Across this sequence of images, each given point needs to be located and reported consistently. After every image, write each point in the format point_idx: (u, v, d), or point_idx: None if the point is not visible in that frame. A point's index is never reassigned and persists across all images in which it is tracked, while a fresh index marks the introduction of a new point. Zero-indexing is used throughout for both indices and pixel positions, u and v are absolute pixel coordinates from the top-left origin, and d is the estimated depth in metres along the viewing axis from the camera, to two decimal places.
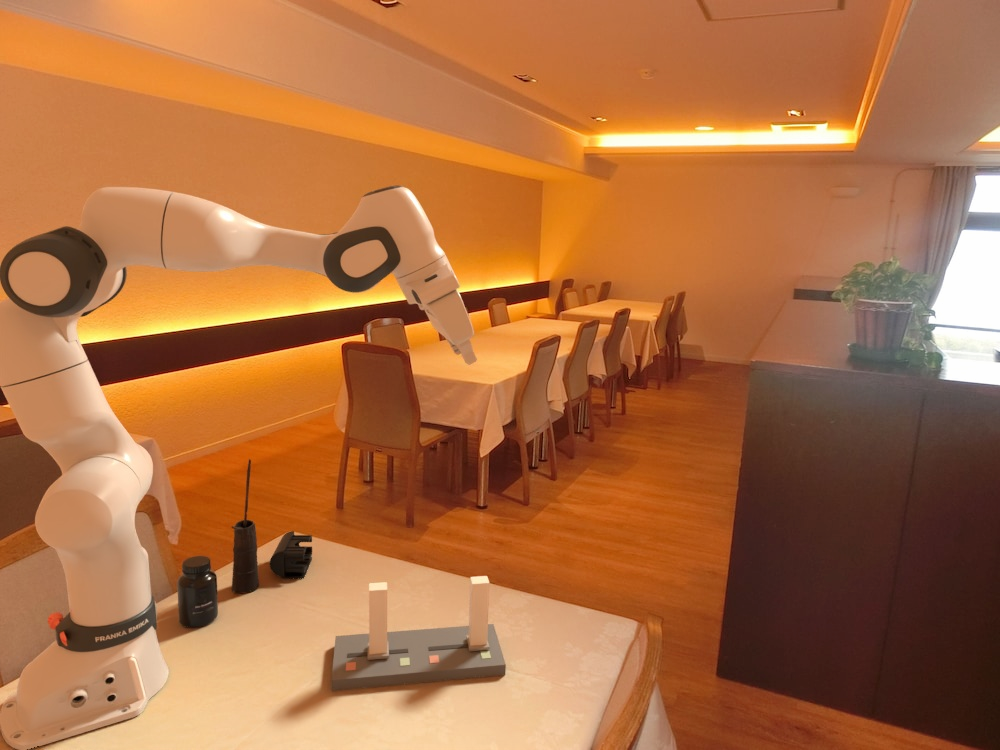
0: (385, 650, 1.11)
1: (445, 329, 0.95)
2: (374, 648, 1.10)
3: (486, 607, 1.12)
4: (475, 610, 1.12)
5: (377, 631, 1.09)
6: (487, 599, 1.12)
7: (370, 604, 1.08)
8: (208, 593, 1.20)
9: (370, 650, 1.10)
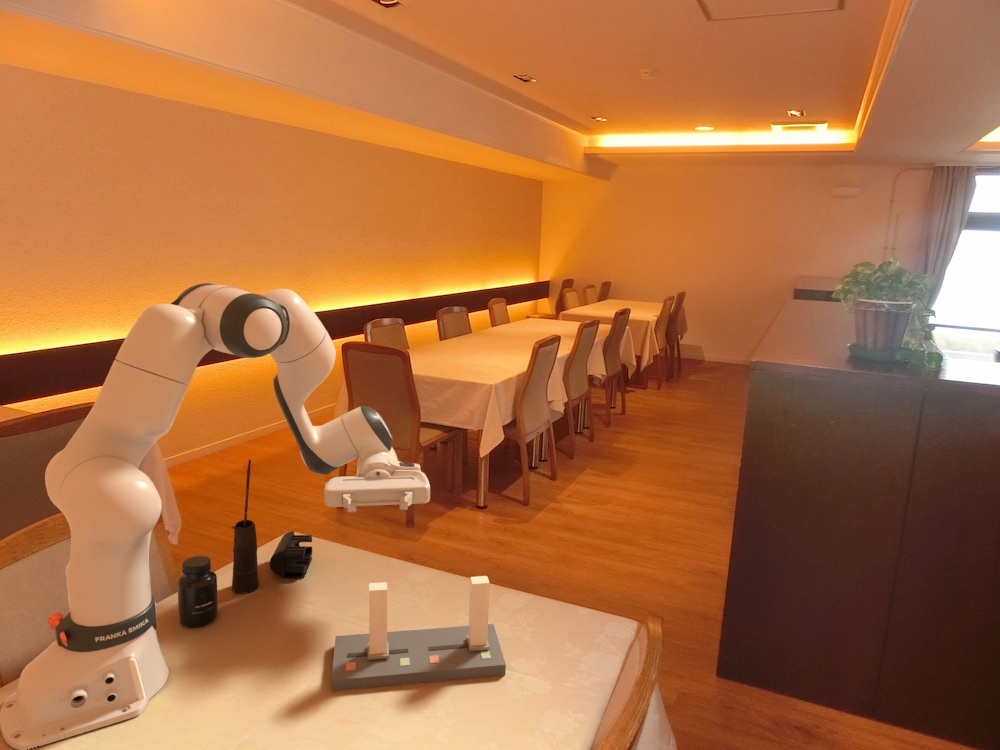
0: (385, 650, 1.11)
1: None
2: (374, 648, 1.10)
3: (486, 607, 1.12)
4: (475, 610, 1.12)
5: (377, 631, 1.09)
6: (487, 599, 1.12)
7: (370, 604, 1.08)
8: (208, 593, 1.20)
9: (370, 650, 1.10)
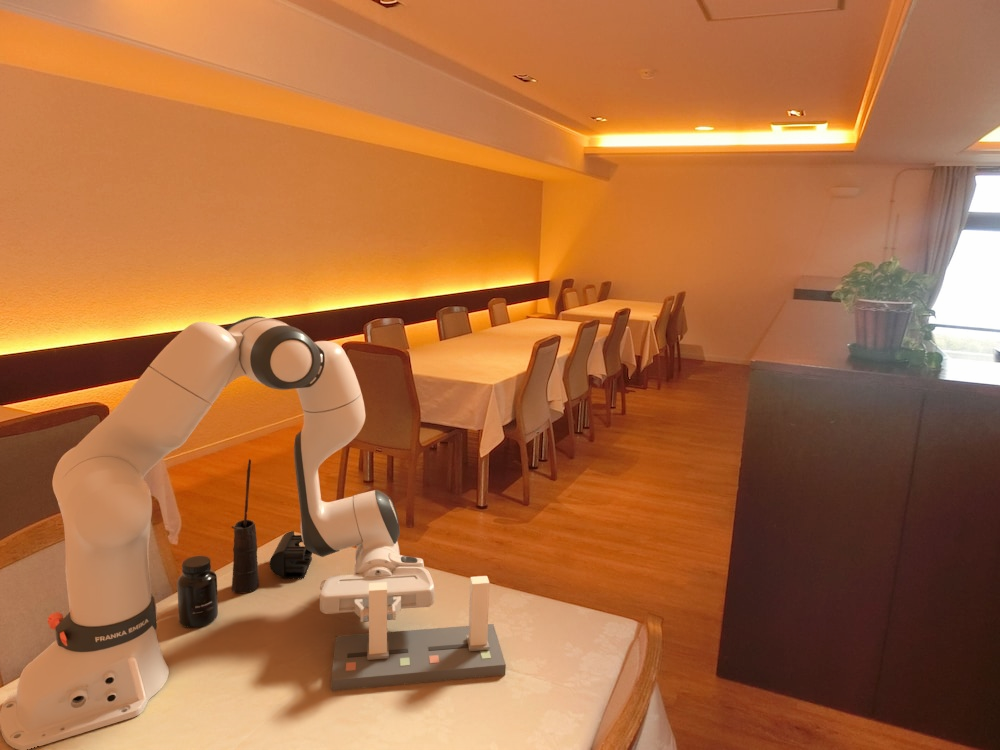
0: (385, 650, 1.10)
1: (432, 580, 1.18)
2: (374, 648, 1.10)
3: (486, 607, 1.12)
4: (475, 610, 1.12)
5: (376, 631, 1.09)
6: (487, 599, 1.12)
7: (370, 604, 1.08)
8: (208, 593, 1.20)
9: (370, 650, 1.10)
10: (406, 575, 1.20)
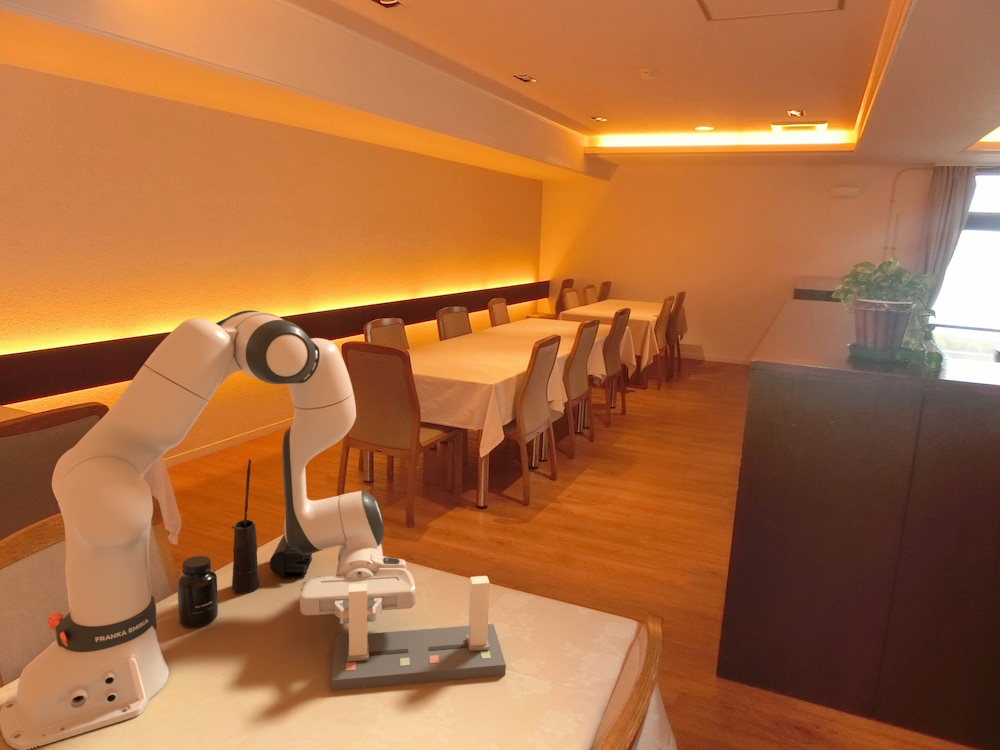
0: (365, 652, 1.10)
1: (413, 581, 1.18)
2: (354, 650, 1.09)
3: (486, 607, 1.12)
4: (475, 610, 1.12)
5: (356, 633, 1.09)
6: (487, 599, 1.12)
7: (350, 605, 1.08)
8: (208, 593, 1.20)
9: (350, 652, 1.09)
10: (388, 576, 1.19)
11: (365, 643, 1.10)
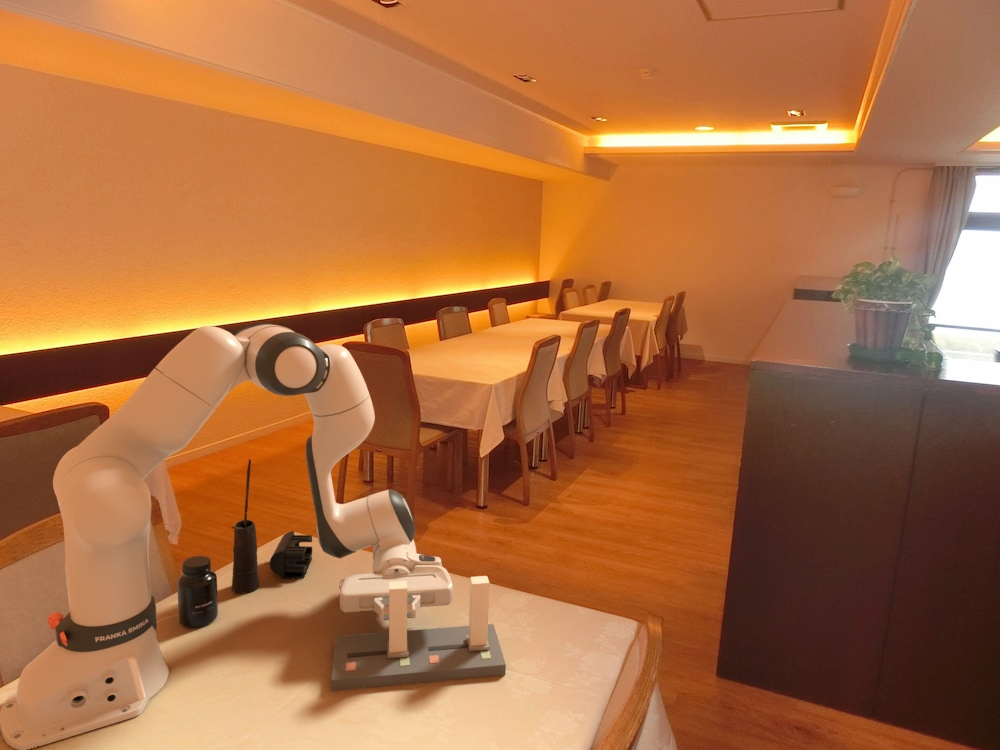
0: (405, 648, 1.11)
1: (450, 578, 1.19)
2: (394, 646, 1.11)
3: (486, 607, 1.12)
4: (475, 610, 1.12)
5: (397, 630, 1.10)
6: (487, 599, 1.12)
7: (390, 602, 1.09)
8: (208, 593, 1.20)
9: (390, 648, 1.11)
10: (424, 574, 1.20)
11: (405, 640, 1.11)
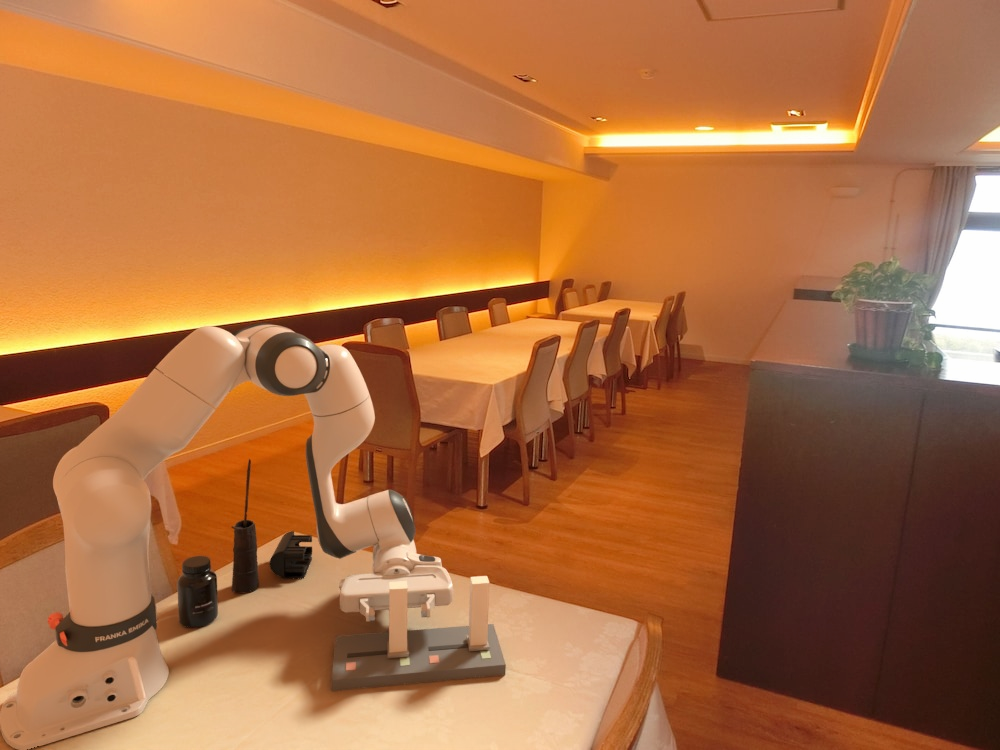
0: (405, 648, 1.11)
1: (450, 578, 1.19)
2: (394, 646, 1.11)
3: (486, 607, 1.12)
4: (475, 610, 1.12)
5: (397, 630, 1.10)
6: (487, 599, 1.12)
7: (390, 602, 1.09)
8: (208, 593, 1.20)
9: (390, 648, 1.11)
10: (424, 574, 1.20)
11: (405, 640, 1.11)
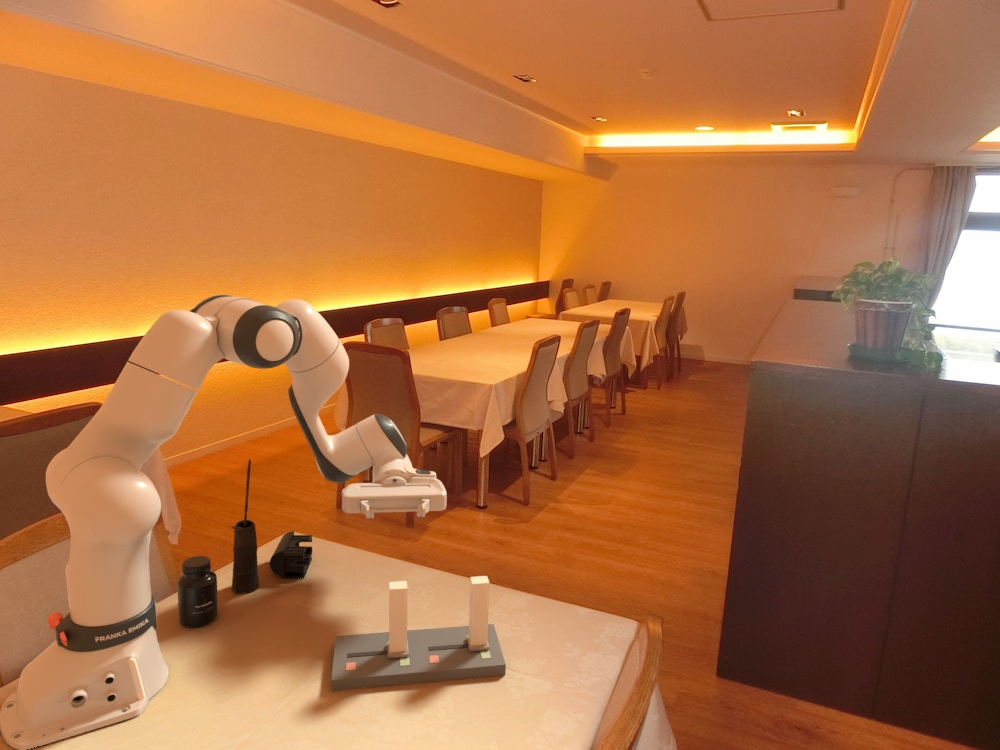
0: (405, 648, 1.11)
1: (444, 487, 1.29)
2: (394, 646, 1.11)
3: (486, 607, 1.12)
4: (475, 610, 1.12)
5: (397, 630, 1.10)
6: (487, 599, 1.12)
7: (390, 602, 1.09)
8: (208, 593, 1.20)
9: (390, 648, 1.11)
10: (420, 484, 1.30)
11: (405, 640, 1.11)
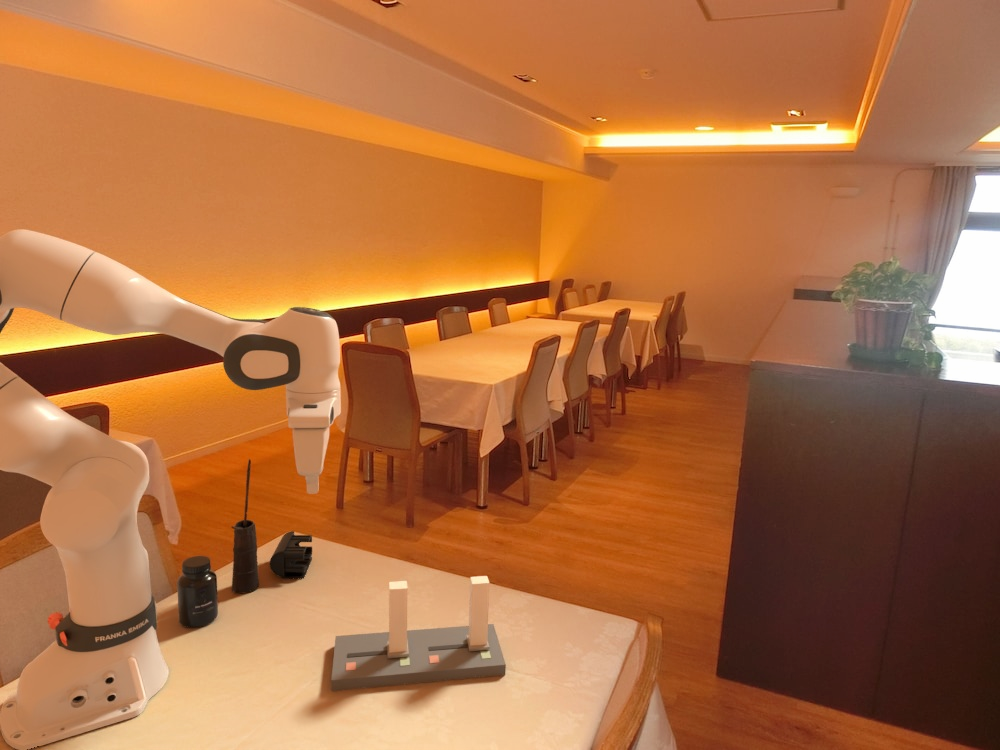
0: (405, 648, 1.11)
1: (296, 458, 1.00)
2: (394, 646, 1.11)
3: (486, 607, 1.12)
4: (475, 610, 1.12)
5: (397, 630, 1.10)
6: (487, 599, 1.12)
7: (390, 602, 1.09)
8: (208, 593, 1.20)
9: (390, 648, 1.11)
10: None
11: (405, 640, 1.11)
